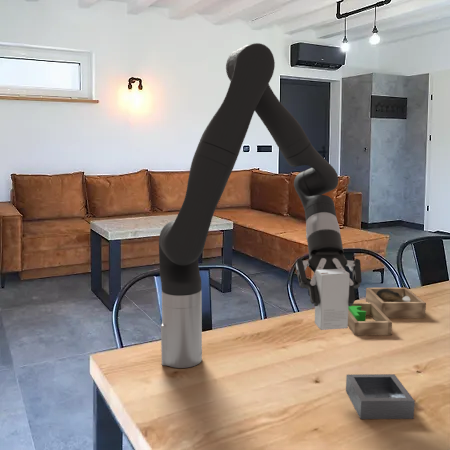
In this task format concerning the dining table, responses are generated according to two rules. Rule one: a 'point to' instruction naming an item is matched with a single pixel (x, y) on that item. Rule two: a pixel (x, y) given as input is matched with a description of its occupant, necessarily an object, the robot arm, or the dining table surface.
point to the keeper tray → (379, 396)
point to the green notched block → (357, 313)
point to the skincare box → (332, 299)
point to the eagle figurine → (392, 296)
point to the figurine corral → (398, 304)
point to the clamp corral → (370, 327)
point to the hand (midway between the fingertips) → (333, 304)
